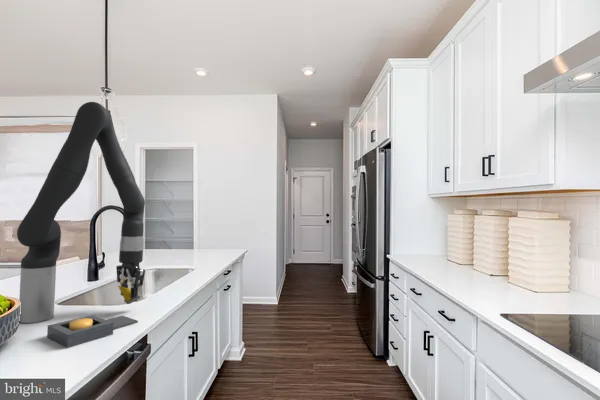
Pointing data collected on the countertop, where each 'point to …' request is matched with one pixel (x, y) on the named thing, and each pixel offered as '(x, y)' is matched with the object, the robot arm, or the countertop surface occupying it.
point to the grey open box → (79, 332)
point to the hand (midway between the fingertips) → (128, 296)
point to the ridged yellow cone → (128, 295)
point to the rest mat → (122, 321)
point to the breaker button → (80, 323)
